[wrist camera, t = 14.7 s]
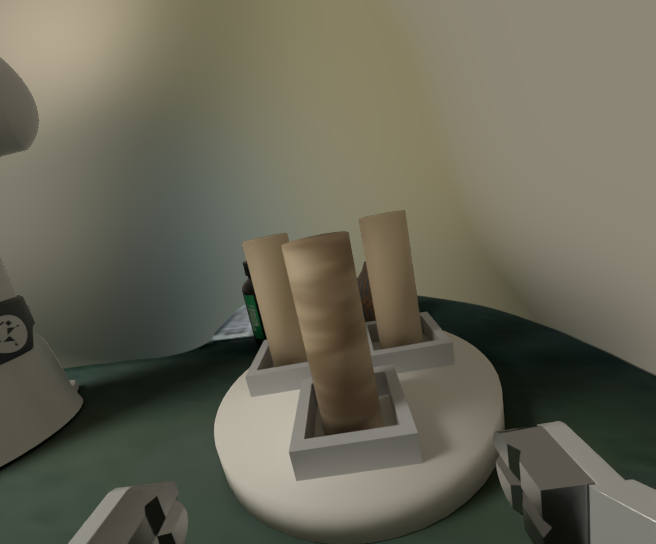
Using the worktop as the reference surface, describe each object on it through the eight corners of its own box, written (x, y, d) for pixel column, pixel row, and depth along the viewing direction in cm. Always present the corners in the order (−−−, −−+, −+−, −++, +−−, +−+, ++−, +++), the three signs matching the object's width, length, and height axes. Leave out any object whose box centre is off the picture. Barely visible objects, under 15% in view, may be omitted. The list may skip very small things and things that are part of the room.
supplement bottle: (259, 355, 40) (235, 267, 38) (254, 337, 47) (234, 261, 44) (308, 339, 42) (289, 254, 39) (297, 323, 48) (280, 250, 46)
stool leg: (323, 454, 19) (275, 250, 16) (325, 411, 23) (286, 240, 20) (388, 445, 19) (349, 235, 16) (379, 403, 23) (347, 229, 20)
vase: (348, 324, 44) (337, 266, 42) (381, 308, 48) (372, 254, 46) (383, 335, 39) (372, 269, 37) (417, 316, 42) (409, 254, 41)
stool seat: (160, 569, 17) (50, 303, 13) (260, 358, 39) (229, 239, 36) (599, 514, 15) (598, 198, 12) (441, 327, 38) (426, 200, 34)
